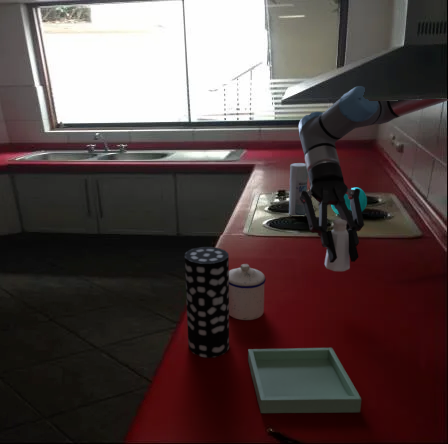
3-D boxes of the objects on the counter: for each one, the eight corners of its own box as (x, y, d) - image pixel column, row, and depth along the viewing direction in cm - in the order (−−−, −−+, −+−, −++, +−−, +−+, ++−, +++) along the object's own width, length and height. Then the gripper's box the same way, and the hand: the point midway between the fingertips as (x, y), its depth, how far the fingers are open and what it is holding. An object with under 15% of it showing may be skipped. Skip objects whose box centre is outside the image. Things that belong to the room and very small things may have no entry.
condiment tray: (331, 359, 79) (332, 347, 78) (360, 412, 66) (361, 399, 65) (247, 360, 80) (248, 349, 79) (260, 413, 67) (260, 400, 66)
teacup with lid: (270, 307, 98) (272, 262, 95) (255, 325, 91) (255, 277, 88) (225, 295, 105) (224, 252, 101) (207, 311, 98) (206, 266, 95)
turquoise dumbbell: (367, 215, 158) (369, 190, 155) (343, 218, 157) (345, 192, 154) (350, 208, 168) (352, 184, 165) (328, 211, 166) (330, 187, 163)
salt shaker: (347, 273, 91) (351, 225, 88) (321, 269, 94) (324, 222, 91) (351, 264, 95) (355, 218, 92) (326, 260, 98) (329, 215, 95)
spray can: (296, 211, 169) (298, 162, 163) (309, 215, 163) (312, 164, 157) (284, 214, 166) (286, 164, 160) (297, 218, 160) (299, 166, 154)
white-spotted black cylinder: (195, 331, 91) (192, 245, 84) (233, 337, 87) (232, 249, 81) (182, 353, 83) (178, 261, 77) (223, 361, 80) (222, 265, 74)
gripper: (354, 176, 103) (377, 264, 93) (285, 179, 104) (300, 267, 94) (365, 158, 97) (391, 251, 86) (291, 162, 98) (308, 254, 87)
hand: (344, 259), depth 90 cm, fingers closed on salt shaker, 4 cm apart
